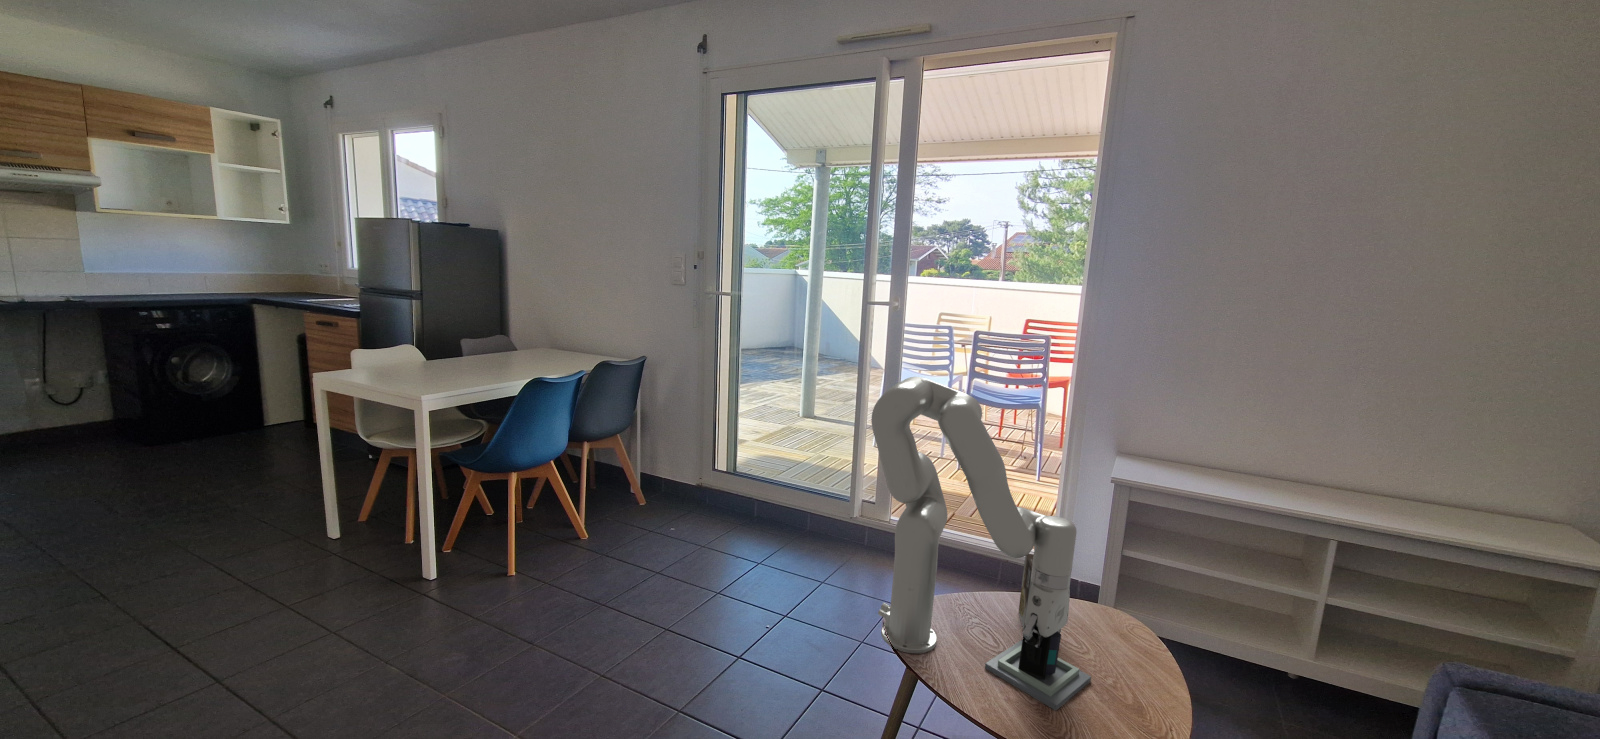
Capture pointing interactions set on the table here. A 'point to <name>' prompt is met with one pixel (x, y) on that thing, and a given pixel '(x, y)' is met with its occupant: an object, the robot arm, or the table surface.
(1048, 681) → the dock
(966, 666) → the table surface
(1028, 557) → the coffee box
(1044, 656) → the speaker
